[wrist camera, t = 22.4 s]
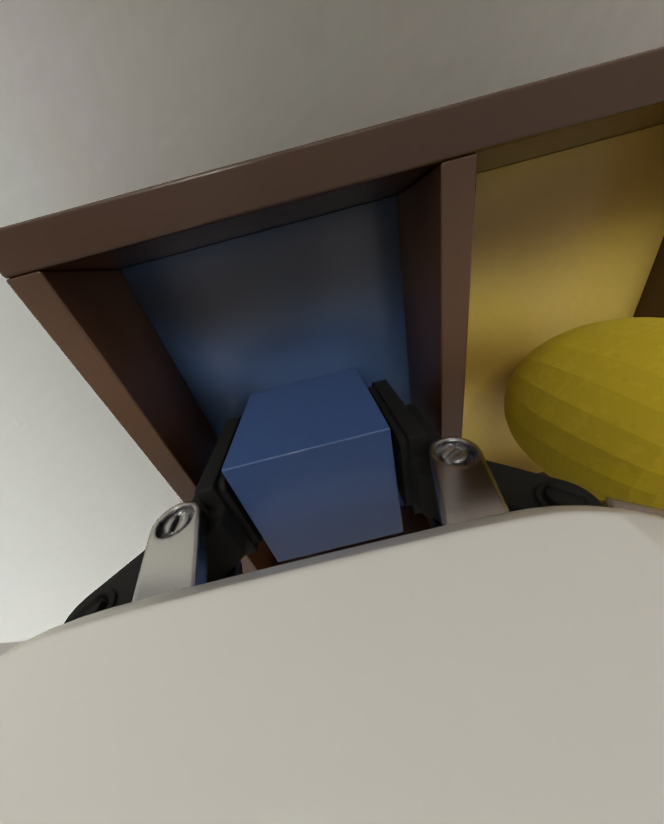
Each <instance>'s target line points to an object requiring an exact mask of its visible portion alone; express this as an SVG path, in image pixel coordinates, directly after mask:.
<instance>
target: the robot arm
mask: <svg viewBox="0 0 664 824" xmlns="http://www.w3.org/2000/svg"><path fill="white" fill-rule="evenodd" d="M368 390H369V391H370V393H371V395H372V397H373V399H374V400H375V402H376V404H377V406H378V408H379V409H380V411H381V413H382V415H383V417H384V418H385V420H386V422H387V424H388V426H389V427H390V431H391V439H392V446H393V454H394V462H395V470H396V478H397V486H398V491H399V493H400V495H401V497H402V500H403V502H404V504H405V506H409V505H411V507H412V509H413V512H414V514H418V513H421V514H424V515H426V516H428V517H430V519H431V525H432V529H428V530H423V531H419V532H415V533H411V534H407V535H402V536H398V537H394V538H390V539H386V540H381V541H377V542H373V543H369V544H364V545H360V546H356V547H352V548H348V549H344V550H339V551H335V552H331V553H327V554H323V555H319V556H315V557H310V558H306V559H302V560H298V561H294V562H290V563H286V564H282V565H278V566H273V567H269V568H265V569H261V570H257V571H253V572H249V573H245V574H243V570H242V563H241V559H242V558H243V557H244V556H245V555H250V554H254V553H257V549H258V542H261V541H262V540H263V537H262V535H261V534H260V532H259V531H258V529H257V527H256V526H255V524H254V523H253V521H252V519H251V518H250V516H249V515H248V513H247V511H246V510H245V508H244V507H243V505H242V503H241V502H240V500H239V499H238V497H237V495H236V494H235V492H234V491H233V489H232V487H231V486H230V484H229V483H228V481H227V479H226V478H225V476H224V475H223V473H222V467H223V465H224V462H225V459H226V457H227V454H228V452H229V449H230V446H231V444H232V441H233V439H234V436H235V433H236V431H237V428H238V426H239V423H240V420H241V418H242V416H239V417H235V418H231V419H228V420H227V422H226V425H225V427H224V429H223V431H222V433H221V435H220V438H219V440H218V442H217V444H216V446H215V448H214V450H213V453H212V455H211V457H210V459H209V461H208V463H207V466H206V468H205V470H204V472H203V474H202V476H201V478H200V481H199V483H198V485H197V487H196V489H195V491H194V493H195V495H194V497H193V500H192V501H186V502H183V503H180V504H177V505H175V506H174V507H172V508H170V509H169V510H168V511H166V512H165V513H164V514H163V515H162V516H161V517H160V518H159V519H158V520H157V521H156V522H155V524H154V525H153V527H152V529H151V531H150V534H149V538H148V542H147V546H146V550H144V551H143V552H142V553H141V554H140V555H138V556H137V557H136V558H135V559H133V560H132V561H131V562H130V563H129V564H127V565H126V566H125V567H124V568H122V569H121V570H120V571H119V572H117V573H116V574H115V575H114V576H113V577H111V578H110V579H109V580H108V581H106V582H105V583H104V584H103V585H102V586H100V587H99V588H98V589H97V590H95V591H94V592H93V593H92V594H90V595H89V596H88V597H87V598H86V599H85V600H84V601H82V602H81V603H80V604H79V605H78V606H77V607H76V608H75V610H74V611H73V612H72V613H71V614H70V615H69V617H68V618H67V620H66V621H65V623H64V624H62V625H60V626H57V627H54V628H52V629H50V630H48V631H46V632H44V633H42V634H39V635H37V636H35V637H33V638H31V639H29V640H27V641H25V642H23V643H21V644H19V645H17V646H16V647H14V648H12V649H10V650H9V651H7V652H5V653H3V654H2V655H0V824H664V509H660V508H656V507H651V506H646V505H642V504H637V503H633V502H628V501H624V500H619V499H615V498H610V497H606V498H605V500H604V501H602V500H598V499H597V498H596V497H595V496H594V495H592V494H591V493H590V492H589V491H587V490H586V489H584V488H582V487H580V486H578V485H576V484H573V483H570V482H567V481H564V480H561V479H557V478H553V477H549V476H545V475H541V474H538V473H534V472H530V471H526V470H522V469H518V468H515V467H511V466H507V465H503V464H499V463H495V462H492V461H488V460H486V459H485V457H484V455H483V453H482V451H481V449H480V448H479V447H478V445H476V444H475V443H474V442H472V441H470V440H467V439H465V438H461V437H443V438H442V437H441V436H440V435H439V433H438V432H437V431H436V430H435V429H434V427H433V426H432V425H431V424H430V423H429V421H428V420H427V419H426V418H425V417H424V415H423V414H422V413H421V412H420V411H419V409H418V408H417V407H416V406H415V405H414V404H408V405H405V404H404V403H403V401H402V400H401V399H400V397H399V396H398V395H397V393H396V392H395V391H394V390H393V388H392V387H391V386H390V384H389V383H388V382H387V380H386V379H384V380H380V381H376V382H373V383H372V386H371V387H368Z"/></svg>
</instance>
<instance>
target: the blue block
mask: <svg viewBox="0 0 664 824" xmlns="http://www.w3.org/2000/svg"><path fill="white" fill-rule="evenodd" d="M222 473H223V475H224V476H225V478H226V479H227V481H228V483H229V484H230V486H231V487H232V489H233V491H234V492H235V494H236V495H237V497H238V499H239V500H240V502H241V503H242V505H243V507H244V508H245V510H246V511H247V513H248V515H249V516H250V518H251V519H252V521H253V523H254V524H255V526H256V527H257V529H258V531H259V532H260V534H261V535H262V537H263V539H264V540H265V542H266V543H267V545H268V547H269V548H270V550H271V551H272V553H273V555H274V556H275V558H276V559H277V561H278V562H281V561H285V560H289V559H293V558H297V557H302V556H306V555H310V554H314V553H318V552H322V551H326V550H330V549H335V548H339V547H343V546H347V545H351V544H355V543H359V542H363V541H367V540H372V539H376V538H380V537H384V536H388V535H392V534H396V533H400V532H403V525H402V517H401V509H400V501H399V494H398V486H397V478H396V470H395V462H394V454H393V446H392V439H391V431H390V427H389V426H388V424H387V422H386V420H385V418H384V417H383V415H382V413H381V411H380V409H379V408H378V406H377V404H376V402H375V400H374V399H373V397H372V395H371V393H370V391H369V390H368V388H367V386H366V384H365V382H364V381H363V379H362V377H361V375H360V374H359V372H358V370H357V368H353V369H349V370H345V371H341V372H337V373H333V374H329V375H325V376H322V377H318V378H314V379H310V380H306V381H302V382H298V383H294V384H290V385H286V386H282V387H279V388H275V389H271V390H267V391H263V392H259V393H255V394H251V395H250V397H249V400H248V402H247V405H246V408H245V410H244V413H243V415H242V418H241V420H240V423H239V426H238V428H237V431H236V433H235V436H234V439H233V441H232V444H231V446H230V449H229V452H228V454H227V457H226V459H225V462H224V465H223V467H222Z"/></svg>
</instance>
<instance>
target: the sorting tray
mask: <svg viewBox="0 0 664 824" xmlns="http://www.w3.org/2000/svg"><path fill="white" fill-rule="evenodd" d="M0 273H1V275H2V276H4V277H5V278H10V279H8V280H7V283H8V284H9V285H10V286H11V288H12V289H13V290H14V291H15V293H16V294H17V295H18V296H19V298H20V299H21V300H22V301H23V303H24V304H25V305H26V306H27V308H28V309H29V310H30V311H31V313H32V314H33V315H34V316H35V318H36V319H37V320H38V321H39V323H40V324H41V325H42V326H43V328H44V329H45V330H46V331H47V333H48V334H49V335H50V336H51V338H52V339H53V340H54V341H55V343H56V344H57V345H58V346H59V347H60V349H61V350H62V351H63V352H64V354H65V355H66V356H67V357H68V359H69V360H70V361H71V362H72V364H73V365H74V366H75V367H76V369H77V370H78V371H79V372H80V374H81V375H82V376H83V377H84V379H85V380H86V381H87V382H88V384H89V385H90V386H91V387H92V389H93V390H94V391H95V392H96V394H97V395H98V396H99V397H100V399H101V400H102V401H103V402H104V404H105V405H106V406H107V407H108V409H109V410H110V411H111V412H112V414H113V415H114V416H115V417H116V419H117V420H118V421H119V422H120V423H121V425H122V426H123V427H124V428H125V430H126V431H127V432H128V433H129V435H130V436H131V437H132V438H133V440H134V441H135V442H136V443H137V445H138V446H139V447H140V448H141V450H142V451H143V452H144V453H145V455H146V456H147V457H148V458H149V460H150V461H151V462H152V463H153V465H154V466H155V467H156V468H157V470H158V471H159V472H160V473H161V475H162V476H163V477H164V478H165V480H166V481H167V482H168V483H169V485H170V486H171V487H172V488H173V490H174V491H175V492H176V493H177V495H178V496H179V497H180V498H181V499H182V501H183V502H186V501H192V500H193V497H194V495H195V493H194V491H195V489H196V487H197V485H198V483H199V481H200V478H201V476H202V474H203V472H204V470H205V468H206V466H207V463H208V461H209V459H210V457H211V455H212V453H213V450H214V448H215V446H216V444H217V442H218V440H219V438H220V435H221V433H222V431H223V429H224V427H225V425H226V422H227V420H228V419H231V418H235V417H239V416H242V415H243V413H244V410H245V408H246V405H247V402H248V400H249V397H250V395H251V394H255V393H259V392H263V391H267V390H271V389H275V388H279V387H282V386H286V385H290V384H294V383H298V382H302V381H306V380H310V379H314V378H318V377H322V376H325V375H329V374H333V373H337V372H341V371H345V370H349V369H353V368H357V370H358V372H359V374H360V375H361V377H362V379H363V381H364V382H365V384H366V386H367V388H368V387H371V386H372V383H373V382H376V381H380V380H384V379H386V380H387V382H388V383H389V384H390V386H391V387H392V388H393V390H394V391H395V392H396V393H397V395H398V396H399V397H400V399H401V400H402V401H403V403H404V404H405V405H408V404H414V405H415V406H416V407H417V408H418V409H419V411H420V412H421V413H422V414H423V415H424V417H425V418H426V419H427V420H428V421H429V423H430V424H431V425H432V426H433V427H434V429H435V430H436V431H437V432H438V433H439V435H440V436H441V437H442V438H443V437H461V438H465V439H467V440H470V441H472V442H474V443H475V444H476V445H478V447H479V448H480V449H481V451H482V453H483V455H484V457H485V459H486V460H488V461H492V462H495V463H499V464H503V465H507V466H511V467H515V468H518V469H522V470H526V471H530V472H534V473H538V474H541V475H545V476H548V475H547V474H546V473H545V472H544V471H543V470H541V469H540V468H539V467H538V466H537V465H536V464H535V463H534V462H533V461H532V460H531V459H530V458H529V456H528V455H527V454H526V453H525V452H524V451H523V450H522V449H521V448H520V446H519V445H518V444H517V442H516V441H515V439H514V438H513V436H512V434H511V432H510V429H509V427H508V424H507V421H506V418H505V414H504V395H505V391H506V388H507V384H508V382H509V380H510V378H511V376H512V374H513V372H514V370H515V369H516V368H517V366H518V365H519V364H520V363H521V361H522V360H523V359H524V358H525V357H526V356H527V355H529V354H530V353H531V352H532V351H533V350H534V349H535V348H537V347H538V346H540V345H541V344H543V343H544V342H546V341H547V340H549V339H551V338H553V337H555V336H557V335H559V334H562V333H564V332H566V331H569V330H571V329H573V328H576V327H579V326H583V325H586V324H591V323H596V322H601V321H607V320H612V319H619V318H631V317H656V318H664V46H663V47H660V48H656V49H652V50H649V51H645V52H641V53H638V54H634V55H631V56H627V57H623V58H620V59H616V60H612V61H609V62H605V63H601V64H598V65H594V66H590V67H587V68H583V69H579V70H576V71H572V72H568V73H565V74H561V75H557V76H554V77H550V78H546V79H543V80H539V81H535V82H532V83H528V84H524V85H521V86H517V87H513V88H510V89H506V90H502V91H499V92H495V93H492V94H488V95H484V96H481V97H477V98H473V99H470V100H466V101H462V102H459V103H455V104H451V105H448V106H444V107H440V108H437V109H433V110H429V111H426V112H422V113H418V114H415V115H411V116H407V117H404V118H400V119H396V120H393V121H389V122H385V123H382V124H378V125H374V126H371V127H367V128H363V129H360V130H356V131H352V132H349V133H345V134H342V135H338V136H334V137H331V138H327V139H323V140H320V141H316V142H312V143H309V144H305V145H301V146H298V147H294V148H290V149H287V150H283V151H279V152H276V153H272V154H268V155H265V156H261V157H257V158H254V159H250V160H246V161H243V162H239V163H235V164H232V165H228V166H224V167H221V168H217V169H213V170H210V171H206V172H203V173H199V174H195V175H192V176H188V177H184V178H181V179H177V180H173V181H170V182H166V183H162V184H159V185H155V186H151V187H148V188H144V189H140V190H137V191H133V192H129V193H126V194H122V195H118V196H115V197H111V198H107V199H104V200H100V201H96V202H93V203H89V204H85V205H82V206H78V207H74V208H71V209H67V210H64V211H60V212H56V213H53V214H49V215H45V216H42V217H38V218H34V219H31V220H27V221H23V222H20V223H16V224H12V225H9V226H5V227H1V228H0ZM549 477H550V476H549ZM398 494H399V501H400V509H401V517H402V525H403V532H400V533H396V534H392V535H388V536H384V537H380V538H376V539H372V540H367V541H363V542H359V543H355V544H351V545H347V546H343V547H339V548H335V549H330V550H326V551H322V552H318V553H314V554H310V555H306V556H302V557H297V558H293V559H289V560H285V561H281V562H278V561H277V559H276V558H275V556H274V555H273V553H272V551H271V550H270V548H269V547H268V545H267V543H266V542H265V540H264V539H263V540H262V541H261V542H258V549H257V553H254V554H250V555H245V556H244V557H243V558H242V559H241V563H242V570H243V574H245V573H249V572H253V571H257V570H261V569H265V568H269V567H273V566H278V565H282V564H286V563H290V562H294V561H298V560H302V559H306V558H310V557H315V556H319V555H323V554H327V553H331V552H335V551H339V550H344V549H348V548H352V547H356V546H360V545H364V544H369V543H373V542H377V541H381V540H386V539H390V538H394V537H398V536H402V535H407V534H411V533H415V532H419V531H423V530H428V529H432V525H431V519H430V517H428V516H426V515H424V514H421V513H418V514H414V512H413V509H412V507H411V505H409V506H405V504H404V502H403V500H402V497H401V495H400V493H399V491H398Z"/></svg>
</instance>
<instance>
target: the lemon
mask: <svg viewBox="0 0 664 824" xmlns="http://www.w3.org/2000/svg"><path fill="white" fill-rule="evenodd" d="M504 414H505V418H506V421H507V424H508V427H509V429H510V432H511V434H512V436H513V438H514V439H515V441H516V442H517V444H518V445H519V446H520V448H521V449H522V450H523V451H524V452H525V453H526V454H527V455H528V456H529V458H530V459H531V460H532V461H533V462H534V463H535V464H536V465H537V466H538V467H539V468H540V469H541V470H543V471H544V472H545V473H546V474H547V475H548V476H550V477H553V478H557V479H561V480H564V481H567V482H570V483H573V484H576V485H578V486H580V487H582V488H584V489H586V490H587V491H589V492H590V493H591V494H592V495H594V496H595V497H596V498H597V499H598V500H602V501H604V500H605V498H606V497H610V498H615V499H619V500H624V501H628V502H633V503H637V504H642V505H646V506H651V507H656V508H660V509H664V318H656V317H631V318H619V319H612V320H607V321H601V322H596V323H591V324H586V325H583V326H579V327H576V328H573V329H571V330H569V331H566V332H564V333H562V334H559V335H557V336H555V337H553V338H551V339H549V340H547V341H546V342H544V343H543V344H541V345H540V346H538V347H537V348H535V349H534V350H533V351H532V352H531V353H530V354H529V355H527V356H526V357H525V358H524V359H523V360H522V361H521V363H520V364H519V365H518V366H517V368H516V369H515V370H514V372H513V374H512V376H511V378H510V380H509V382H508V384H507V388H506V391H505V395H504Z"/></svg>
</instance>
